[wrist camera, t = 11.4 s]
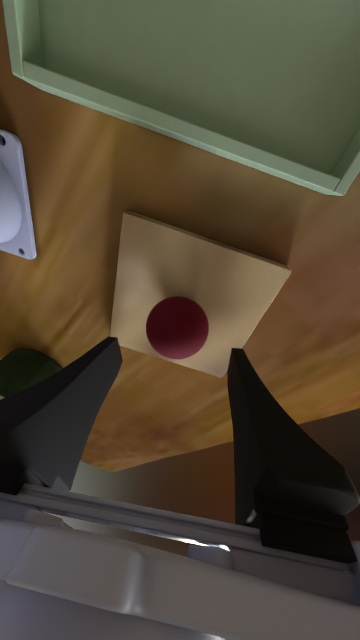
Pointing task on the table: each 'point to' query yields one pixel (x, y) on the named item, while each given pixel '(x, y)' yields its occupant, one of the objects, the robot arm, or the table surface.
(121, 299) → the board
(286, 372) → the table surface
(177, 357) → the plum
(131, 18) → the tray
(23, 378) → the wine bottle
